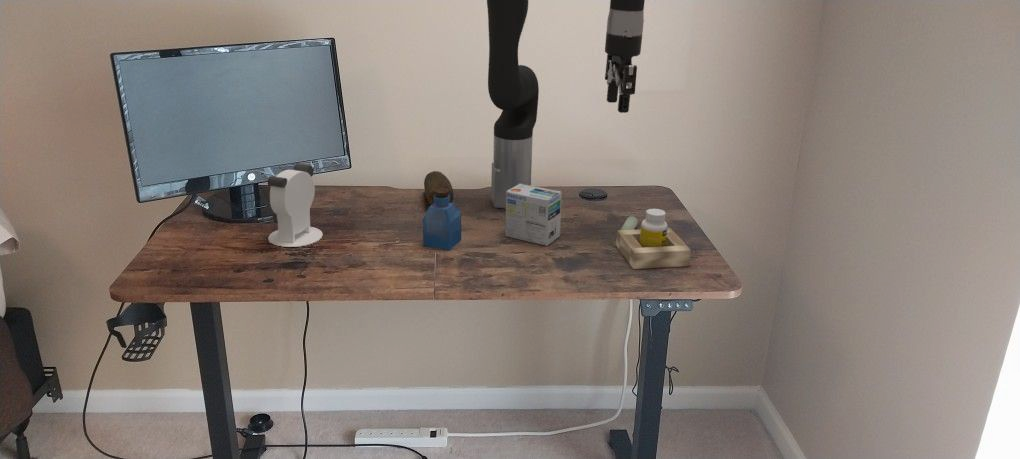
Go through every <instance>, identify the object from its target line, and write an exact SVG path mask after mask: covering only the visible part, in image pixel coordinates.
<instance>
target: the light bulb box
mask: <svg viewBox="0 0 1020 459" xmlns="http://www.w3.org/2000/svg"><path fill="white" fill-rule="evenodd" d="M562 193H563V192H562V190H561V191H560V190H555V189H548V188H545V187H544V188H543V187H540V186H539V187H538V186H534V185H533V186H532V185H531V186H529V185H524V184H518V185H516V186H515V187H513V188H511V189H509V190H508V191H506V209H505V226H504V227H505V232H504V233H505V237H509V238H511V239H517V240H521V241H525V242H528V243H533V244H537V245H542V246H546V247H548V245H550V244H552V243H553V242H554V241H556V240H557V239H558V238H559V237H560V236H561V218H562V215H561V214H562V196H563V194H562Z"/></svg>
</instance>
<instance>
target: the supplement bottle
mask: <svg viewBox="0 0 1020 459" xmlns="http://www.w3.org/2000/svg"><path fill="white" fill-rule="evenodd" d="M666 215H667V214H666V211H665V210H663V209H660V208H649V209H646V211H645V219H643V220H642V222H641V225H640V229H641V233H640V242H639V244H640V245H641V246H642V247H643V248H645V247H665V244H666V235H667V228H668V223H667V222H666V221H665V220H666Z"/></svg>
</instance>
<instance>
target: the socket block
mask: <svg viewBox="0 0 1020 459" xmlns="http://www.w3.org/2000/svg"><path fill="white" fill-rule="evenodd" d="M640 233H641V228H639V229H636V228H635V229H634V230H621V229H618V230H616V241H615V246H616V247H617V249H618V250H619V252H620V253H621V255H622V256H623V257H624V258H625V260H626V262H628V265H630V267H631V268H632V269H633V270H638V269H639V270H640V269H642V270H643V269H657V268H660V269H661V268H675V267H677V268H678V267H690V264H691V257H692V249H691V248H690V247H689V246H688V245H687V244H686V243H685V242H684V241H683V239H682V238H680V236H679V235H678V234H677V233H676V232H675V231H674V230H673V229H672V228H671V227H667V235H666V244H665V247H645V248H643V247H642V246H641V245H640V244H639V242H640Z"/></svg>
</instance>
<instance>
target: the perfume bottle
mask: <svg viewBox="0 0 1020 459" xmlns="http://www.w3.org/2000/svg"><path fill="white" fill-rule="evenodd" d="M434 192H435V195H434V201H435V203H434V204H433V205H430V206H428V209H427V211H426V212H425V214H424V216H423V217H422V244H423V245H422V247H427V248H432V249H433V248H434V249H439V250H440V249H441V250H446V251H451V250H452V249H453V248H454V247H455V246H456V245H457V244H458V243H459V242H461V241H462V213H461V211H460V209H459V208H458V207H457V205H456V204H455V203H454V202H452V203H449V201H450V195H449V189H447V188H437V189H435V190H434Z"/></svg>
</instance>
